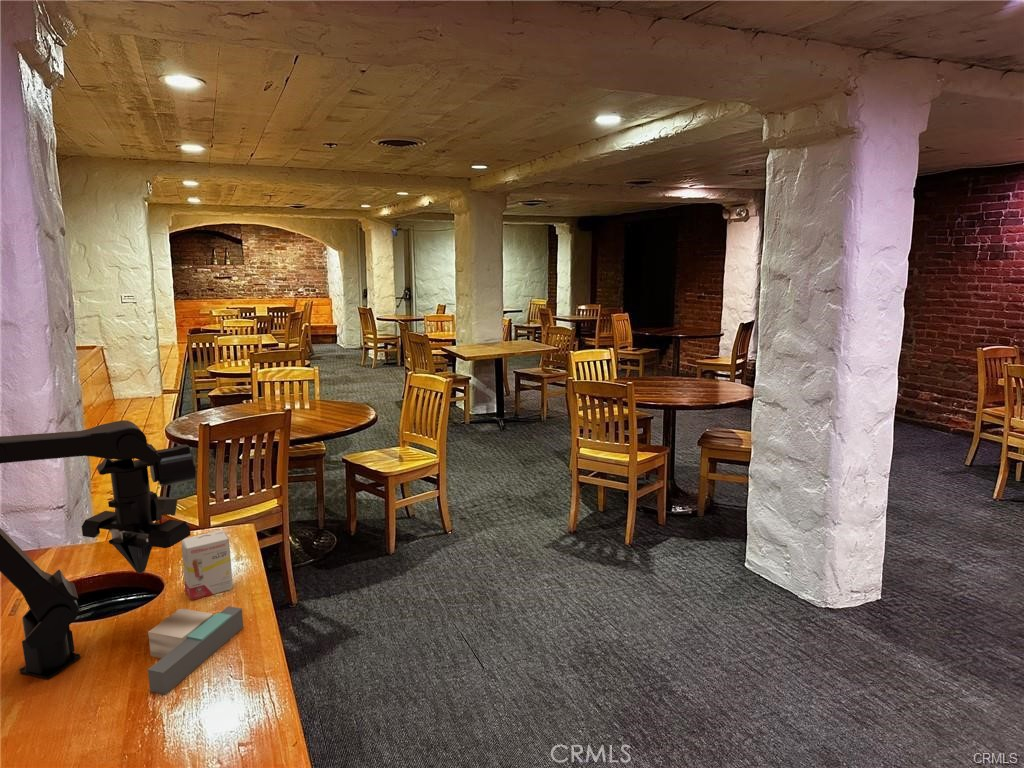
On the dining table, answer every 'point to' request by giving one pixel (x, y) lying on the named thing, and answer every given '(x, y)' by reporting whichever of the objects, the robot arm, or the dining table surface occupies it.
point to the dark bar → (194, 650)
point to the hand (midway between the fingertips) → (141, 572)
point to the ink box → (206, 564)
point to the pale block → (175, 630)
